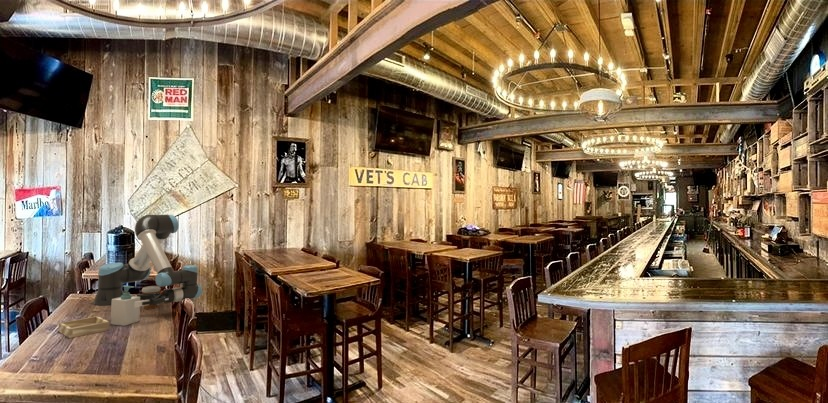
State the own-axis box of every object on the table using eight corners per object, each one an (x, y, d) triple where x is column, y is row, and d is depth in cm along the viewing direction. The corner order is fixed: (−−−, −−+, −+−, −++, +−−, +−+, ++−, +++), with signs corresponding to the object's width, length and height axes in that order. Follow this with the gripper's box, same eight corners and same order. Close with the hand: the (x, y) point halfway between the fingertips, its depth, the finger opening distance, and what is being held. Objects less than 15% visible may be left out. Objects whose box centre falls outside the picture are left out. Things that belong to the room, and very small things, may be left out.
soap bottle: (124, 325, 197) (126, 288, 197) (110, 324, 199) (112, 286, 199) (139, 321, 205) (141, 284, 205) (125, 319, 207) (127, 283, 207)
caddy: (58, 331, 186) (58, 322, 186) (97, 324, 198) (97, 316, 198) (69, 338, 177) (69, 329, 177) (109, 330, 190) (109, 321, 190)
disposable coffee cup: (152, 310, 226) (153, 289, 226) (136, 309, 226) (137, 288, 226) (163, 306, 235) (164, 286, 235) (148, 305, 235) (149, 285, 236)
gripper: (183, 305, 214) (139, 314, 196) (161, 298, 227) (118, 305, 209) (183, 292, 214) (140, 299, 196) (161, 285, 227) (118, 291, 209)
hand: (128, 302), depth 202 cm, fingers open, 13 cm apart
